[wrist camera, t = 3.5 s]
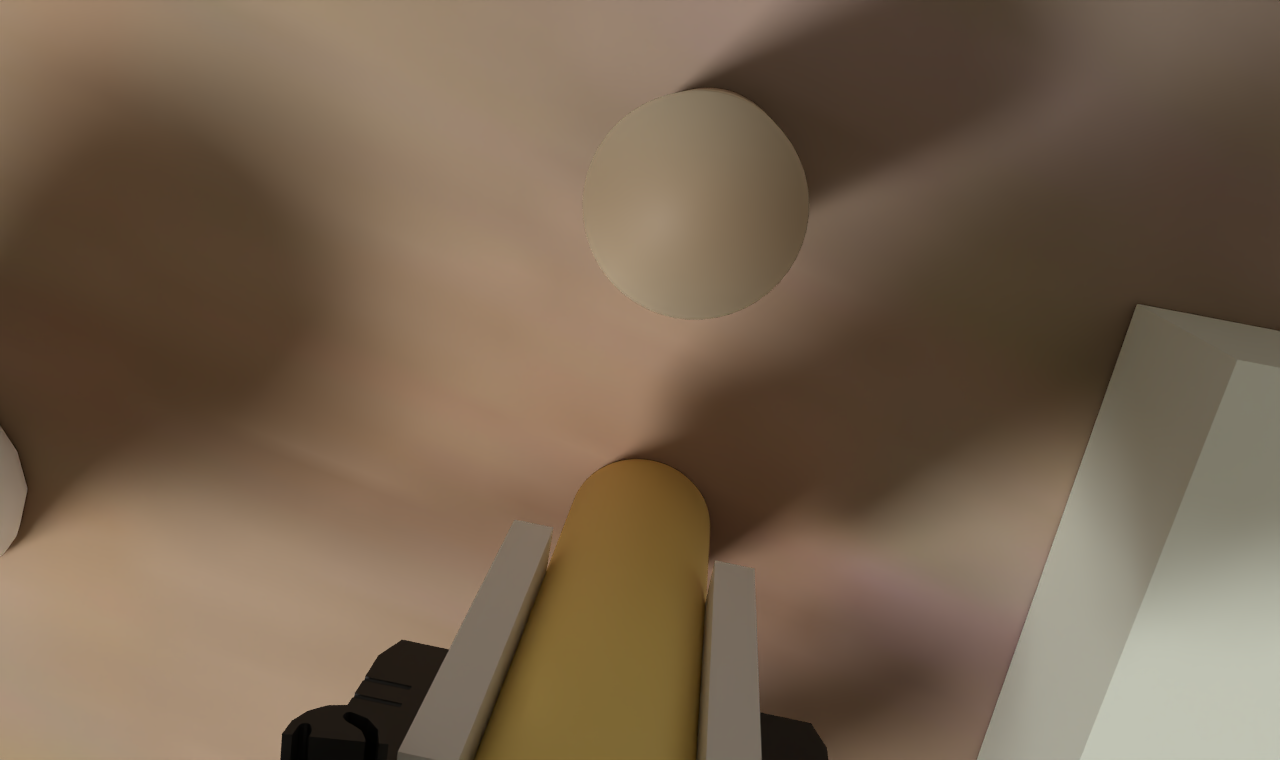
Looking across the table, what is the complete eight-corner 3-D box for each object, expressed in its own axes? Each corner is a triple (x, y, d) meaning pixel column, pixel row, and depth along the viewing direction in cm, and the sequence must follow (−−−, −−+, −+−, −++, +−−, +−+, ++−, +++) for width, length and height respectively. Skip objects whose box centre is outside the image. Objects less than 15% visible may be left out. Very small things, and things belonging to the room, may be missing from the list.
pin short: (642, 74, 19) (601, 71, 13) (802, 103, 18) (833, 114, 13) (615, 233, 20) (566, 297, 14) (767, 262, 20) (781, 338, 14)
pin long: (582, 446, 21) (319, 1068, 8) (723, 475, 21) (700, 1157, 8) (560, 570, 22) (295, 1313, 9) (695, 599, 22) (633, 1393, 9)
